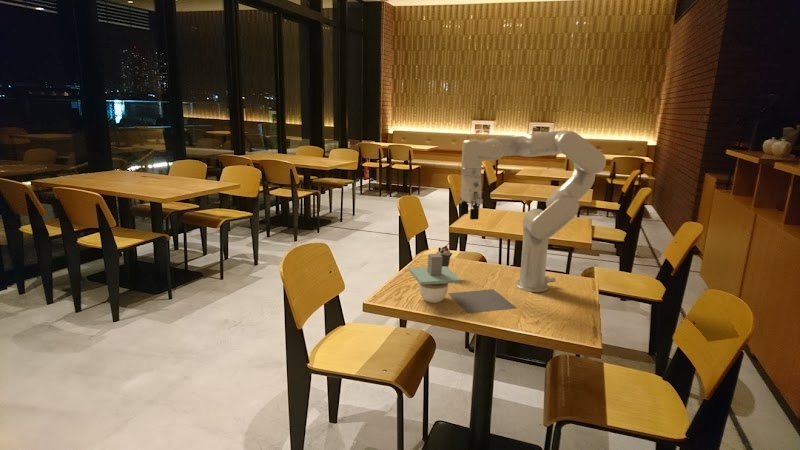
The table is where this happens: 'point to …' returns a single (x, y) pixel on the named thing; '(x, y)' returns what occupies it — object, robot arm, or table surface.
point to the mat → (481, 301)
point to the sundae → (445, 255)
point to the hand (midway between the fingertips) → (469, 216)
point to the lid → (434, 272)
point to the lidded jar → (433, 292)
